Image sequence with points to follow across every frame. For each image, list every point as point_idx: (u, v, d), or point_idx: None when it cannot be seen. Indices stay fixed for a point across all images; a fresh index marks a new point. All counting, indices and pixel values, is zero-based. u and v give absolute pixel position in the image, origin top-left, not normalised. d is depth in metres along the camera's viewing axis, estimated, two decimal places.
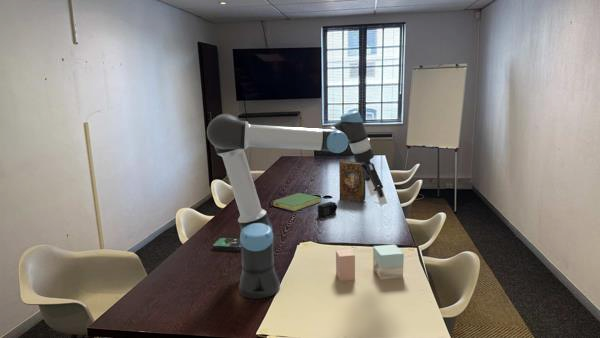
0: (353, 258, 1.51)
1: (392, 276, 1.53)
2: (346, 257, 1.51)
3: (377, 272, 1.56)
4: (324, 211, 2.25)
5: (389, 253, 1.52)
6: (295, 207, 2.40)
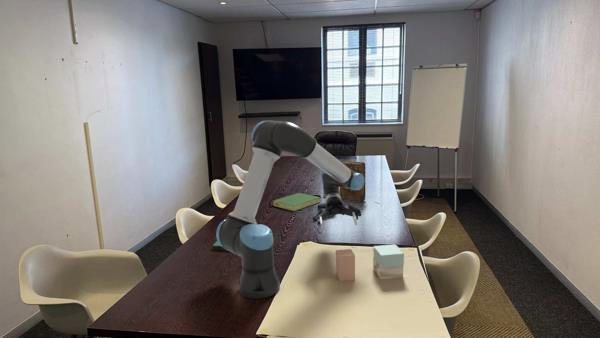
0: (353, 258, 1.51)
1: (392, 276, 1.53)
2: (346, 257, 1.51)
3: (377, 272, 1.56)
4: None
5: (389, 253, 1.52)
6: (295, 207, 2.40)
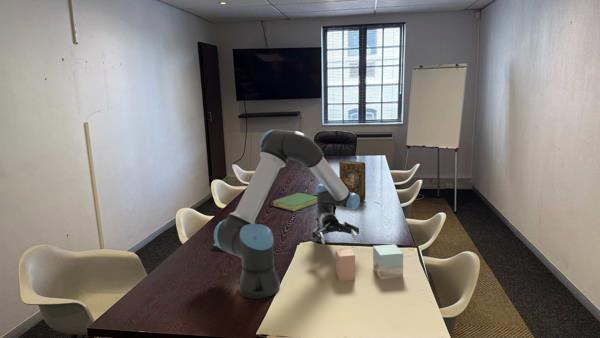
0: (353, 258, 1.51)
1: (392, 276, 1.53)
2: (346, 257, 1.51)
3: (377, 272, 1.56)
4: None
5: (389, 253, 1.52)
6: (295, 207, 2.40)
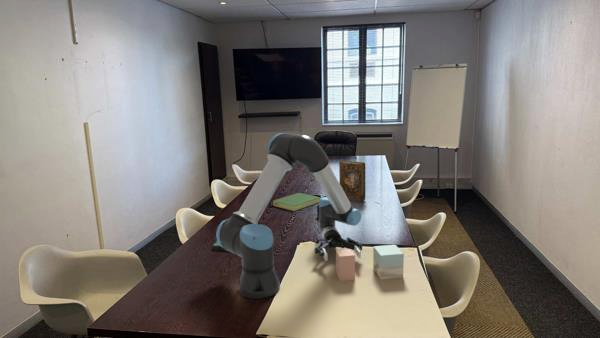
0: (353, 258, 1.51)
1: (392, 276, 1.53)
2: (346, 257, 1.51)
3: (377, 272, 1.56)
4: None
5: (389, 253, 1.52)
6: (295, 207, 2.40)
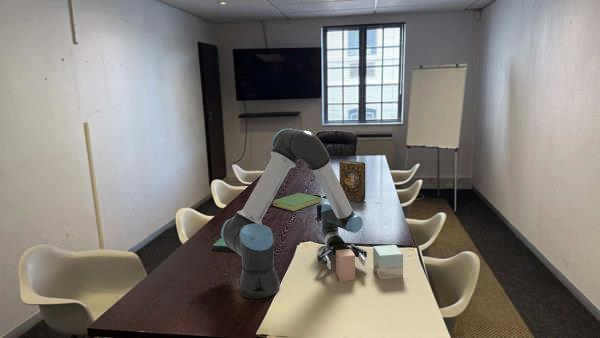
0: (353, 258, 1.51)
1: (392, 276, 1.53)
2: (346, 257, 1.51)
3: (377, 272, 1.56)
4: None
5: (388, 253, 1.52)
6: (295, 207, 2.40)
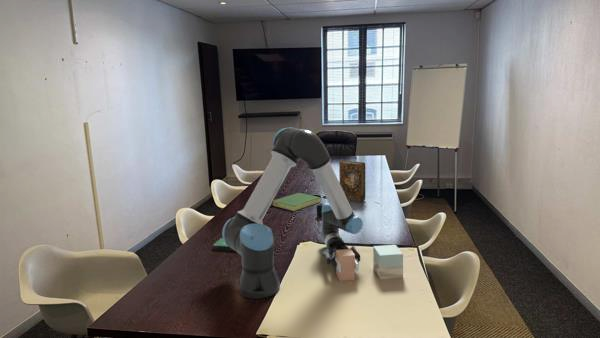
0: (353, 258, 1.51)
1: (392, 276, 1.53)
2: (346, 257, 1.51)
3: (377, 272, 1.56)
4: None
5: (388, 253, 1.52)
6: (295, 207, 2.40)
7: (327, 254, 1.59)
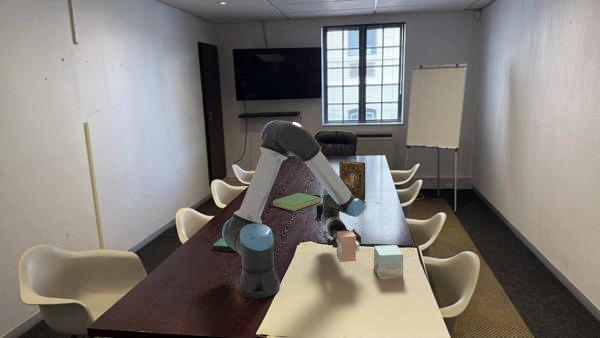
0: (354, 239, 1.50)
1: (392, 276, 1.53)
2: (347, 238, 1.50)
3: (377, 272, 1.56)
4: None
5: (388, 253, 1.52)
6: (295, 207, 2.40)
7: (328, 236, 1.58)
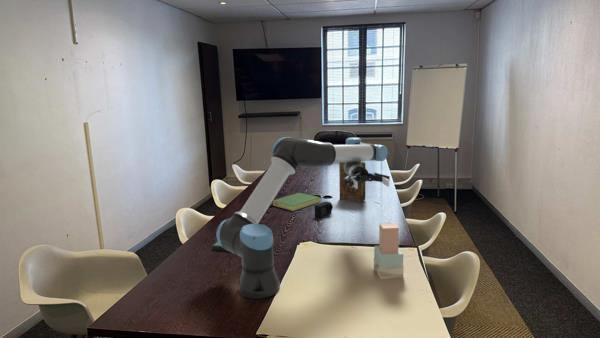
0: (397, 231, 1.51)
1: (392, 276, 1.53)
2: (390, 229, 1.51)
3: (377, 272, 1.56)
4: (321, 211, 2.25)
5: (388, 253, 1.52)
6: (294, 207, 2.40)
7: (347, 177, 1.76)
